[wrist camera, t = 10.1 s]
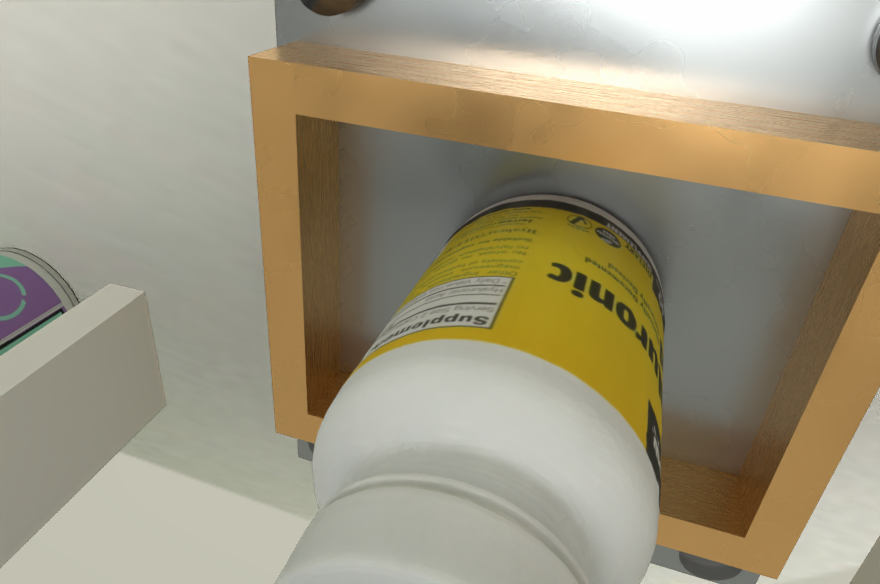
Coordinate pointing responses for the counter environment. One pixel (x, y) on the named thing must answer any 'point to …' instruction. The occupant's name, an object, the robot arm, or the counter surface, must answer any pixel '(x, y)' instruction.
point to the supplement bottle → (501, 415)
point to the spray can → (28, 296)
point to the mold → (611, 189)
